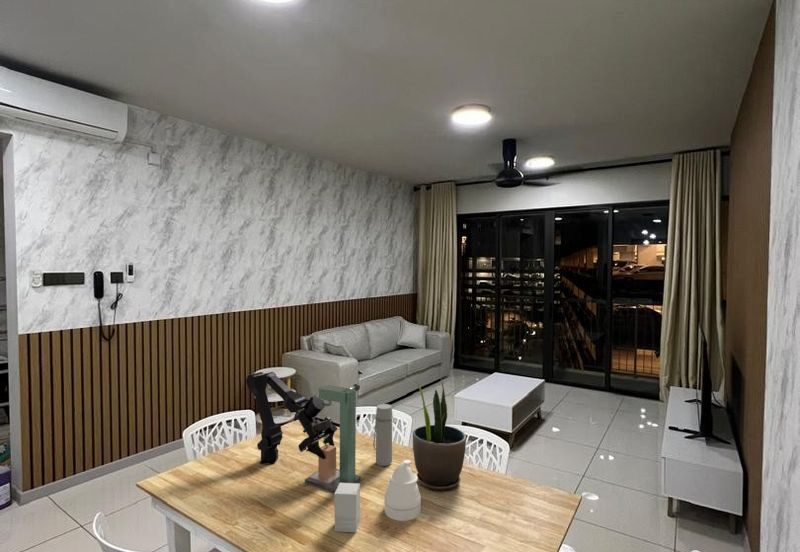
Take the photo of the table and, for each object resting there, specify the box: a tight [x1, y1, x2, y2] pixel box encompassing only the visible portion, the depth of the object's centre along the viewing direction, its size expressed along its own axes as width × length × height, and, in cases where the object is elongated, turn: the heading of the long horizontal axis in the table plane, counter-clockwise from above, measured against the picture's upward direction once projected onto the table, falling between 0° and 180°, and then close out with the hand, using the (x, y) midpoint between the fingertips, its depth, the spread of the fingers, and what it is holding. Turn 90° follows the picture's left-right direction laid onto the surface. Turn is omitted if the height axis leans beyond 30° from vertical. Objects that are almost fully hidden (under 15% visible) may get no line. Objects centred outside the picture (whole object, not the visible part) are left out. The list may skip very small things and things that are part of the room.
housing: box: [317, 443, 337, 479], centre depth 171 cm, size 5×5×12 cm
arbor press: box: [304, 383, 362, 493], centre depth 172 cm, size 18×20×38 cm
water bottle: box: [373, 403, 394, 467], centre depth 186 cm, size 9×8×25 cm
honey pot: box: [383, 459, 422, 522], centre depth 150 cm, size 13×13×18 cm
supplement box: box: [333, 483, 361, 533], centre depth 140 cm, size 7×7×13 cm
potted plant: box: [412, 380, 467, 493], centre depth 170 cm, size 21×22×40 cm
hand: (330, 455), depth 170 cm, fingers open, 6 cm apart
